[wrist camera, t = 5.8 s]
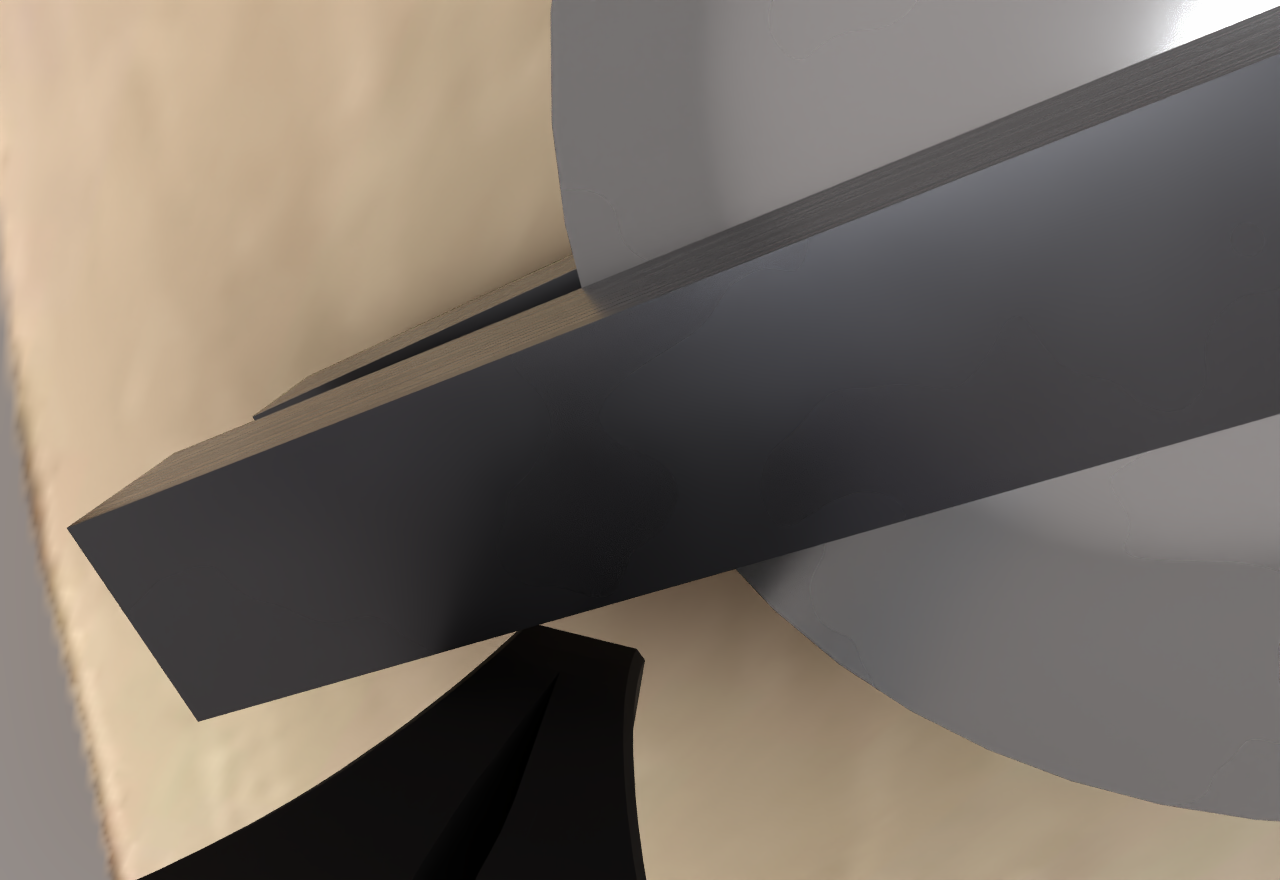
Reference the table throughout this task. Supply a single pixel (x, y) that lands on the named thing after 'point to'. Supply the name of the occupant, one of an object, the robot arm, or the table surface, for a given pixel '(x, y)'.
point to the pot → (439, 330)
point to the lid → (825, 390)
